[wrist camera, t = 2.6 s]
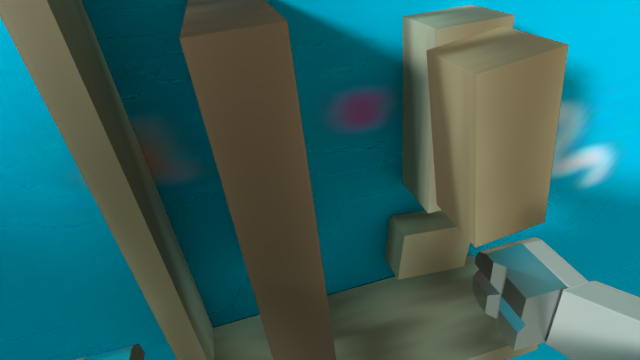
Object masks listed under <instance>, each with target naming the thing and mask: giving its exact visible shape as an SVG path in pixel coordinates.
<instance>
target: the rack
mask: <svg viewBox="0 0 640 360" xmlns="http://www.w3.org/2000/svg"><path fill="white" fill-rule="evenodd" d="M0 17H1V19H2V21H3V22H4V24H5V26H6V28H7V30H8V32H9V34H10V36H11V38H12V40H13V42H14V44H15V46H16V48H17V50H18V52H19V54H20V56H21V57H22V59H23V61H24V63H25V65H26V67H27V69H28V71H29V73H30V75H31V77H32V79H33V81H34V83H35V85H36V87H37V89H38V90H39V92H40V94H41V96H42V98H43V100H44V102H45V104H46V106H47V108H48V110H49V112H50V114H51V116H52V118H53V120H54V122H55V123H56V125H57V127H58V129H59V131H60V133H61V135H62V137H63V139H64V141H65V143H66V145H67V147H68V149H69V151H70V153H71V155H72V156H73V158H74V160H75V162H76V164H77V166H78V168H79V170H80V172H81V174H82V176H83V178H84V180H85V182H86V184H87V186H88V188H89V190H90V191H91V193H92V195H93V197H94V199H95V201H96V203H97V205H98V207H99V209H100V211H101V213H102V215H103V217H104V219H105V221H106V223H107V224H108V226H109V228H110V230H111V232H112V234H113V236H114V238H115V240H116V242H117V244H118V246H119V248H120V250H121V252H122V254H123V256H124V257H125V259H126V261H127V263H128V265H129V267H130V269H131V271H132V273H133V275H134V277H135V279H136V281H137V283H138V285H139V287H140V289H141V290H142V292H143V294H144V296H145V298H146V300H147V302H148V304H149V306H150V308H151V310H152V312H153V314H154V316H155V318H156V320H157V322H158V324H159V325H160V327H161V329H162V331H163V333H164V335H165V337H166V339H167V341H168V343H169V345H170V347H171V349H172V351H173V353H174V355H175V357H176V358H177V360H273V357H272V354H271V351H270V347H269V344H268V340H267V337H266V334H265V330H264V327H263V323H262V320H261V316H260V315H256V316H253V317H249V318H246V319H242V320H239V321H235V322H232V323H228V324H225V325H221V326H218V327H214V328H213V326H212V324H211V321H210V319H209V316H208V314H207V311H206V309H205V306H204V304H203V301H202V299H201V296H200V294H199V291H198V289H197V286H196V284H195V281H194V279H193V276H192V274H191V272H190V269H189V267H188V264H187V262H186V259H185V257H184V254H183V252H182V249H181V247H180V244H179V242H178V239H177V237H176V234H175V232H174V229H173V227H172V224H171V222H170V219H169V217H168V214H167V212H166V209H165V207H164V204H163V202H162V199H161V197H160V194H159V192H158V189H157V187H156V184H155V182H154V179H153V177H152V174H151V172H150V169H149V167H148V164H147V162H146V159H145V157H144V154H143V152H142V149H141V147H140V145H139V142H138V140H137V137H136V135H135V132H134V130H133V127H132V125H131V122H130V120H129V117H128V115H127V112H126V110H125V107H124V105H123V102H122V100H121V97H120V95H119V92H118V90H117V87H116V85H115V82H114V80H113V77H112V75H111V72H110V70H109V67H108V65H107V62H106V60H105V57H104V55H103V52H102V50H101V47H100V45H99V42H98V40H97V37H96V35H95V32H94V30H93V27H92V25H91V23H90V20H89V18H88V15H87V13H86V10H85V8H84V5H83V3H82V0H0ZM478 270H479V268H478V267H477V266H476V264H475V258H474V257H473V255H468V256H467V257H466V261H465V265H464V267H460V268H455V269H450V270H445V271H440V272H435V273H430V274H425V275H420V276H415V277H410V278H404V279H399V280H398V279H397V277H396V276H394V277H391V278H387V279H384V280H380V281H377V282H373V283H369V284H366V285H362V286H359V287H355V288H352V289H348V290H345V291H341V292H338V293H334V294H331V295H327V299H328V305H329V312H330V319H331V326H332V333H333V340H334V347H335V354H336V360H507V359H510V358H513V357H516V356H519V355H522V354H525V353H528V352H531V351H534V350H537V347H538V344H537V345H533V346H529V347H526V348H522V349H518V350H515V351H513V350H512V348H511V347H510V346H509V345H508V343H507V342H506V341H505V339H504V338H503V337H502V335H501V334H500V333H499V331H498V330H497V329H496V318H494V317H492V316H490V315H488V314H486V313H485V312H484V311H483V310H482V308H481V307H480V305H479V304H478V302H477V300H476V298H475V295H474V291H473V287H472V283H473V276H474V275H475V273H476V272H477V271H478Z"/></svg>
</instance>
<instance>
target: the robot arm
mask: <svg viewBox="0 0 640 360" xmlns="http://www.w3.org/2000/svg"><path fill="white" fill-rule="evenodd" d="M475 264H476V266H477V267H478V268H479V270H478V271H477V272H476V273H475V275H474V276H473V283H472V287H473V291H474V295H475V298H476V300H477V302H478V304H479V305H480V307H481V308H482V310H483V311H484V312H485V313H486V314H488V315H490V316H492V317H494V318H496V329H497V330H498V331H499V333H500V334H501V335H502V337H503V338H504V339H505V341H506V342H507V343H508V345H509V346H510V347H511V348H512V350H513V351H515V350H518V349H522V348H526V347H529V346H533V345H537V344H540V343H544V342H546V344H547V345H549V346H550V347H552V348H554V349H555V350H557V351H559V352H560V353H562V354H563V355H565V356H567V357H568V358H570V359H572V360H640V297H637V296H635V295H632V294H629V293H627V292H624V291H621V290H619V289H616V288H613V287H611V286H608V285H606V284H603V283H600V282H598V281H595V280H594V281H590V282H589V281H588V280H586V279H585V278H584V277H583V276H582V275H581V274H580V273H579V272H577V271H576V270H575V269H574V268H573V267H572V266H571V265H570V264H568V263H567V262H566V261H565V260H564V259H563V258H562V257H560V256H559V255H558V254H557V253H556V252H555V251H554V250H553V249H551V248H550V247H549V246H548V245H547V244H546V243H545V242H544V241H542V240H541V239H539V238H537V237H532V238H528V239H525V240H521V241H517V242H512V243H509V244H505V245H502V246H498V247H495V248H491V249H488V250H484V251H480V252H479V253H478V254H477V255H476V259H475ZM144 355H145V353H144V351H143V350H142V348H141V347H140V345H139V344H135V345H131V346H126V347H122V348H118V349H114V350H110V351H106V352H101V353H97V354H93V355H89V356H86V357H82V358H78V359H74V360H144Z"/></svg>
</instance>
